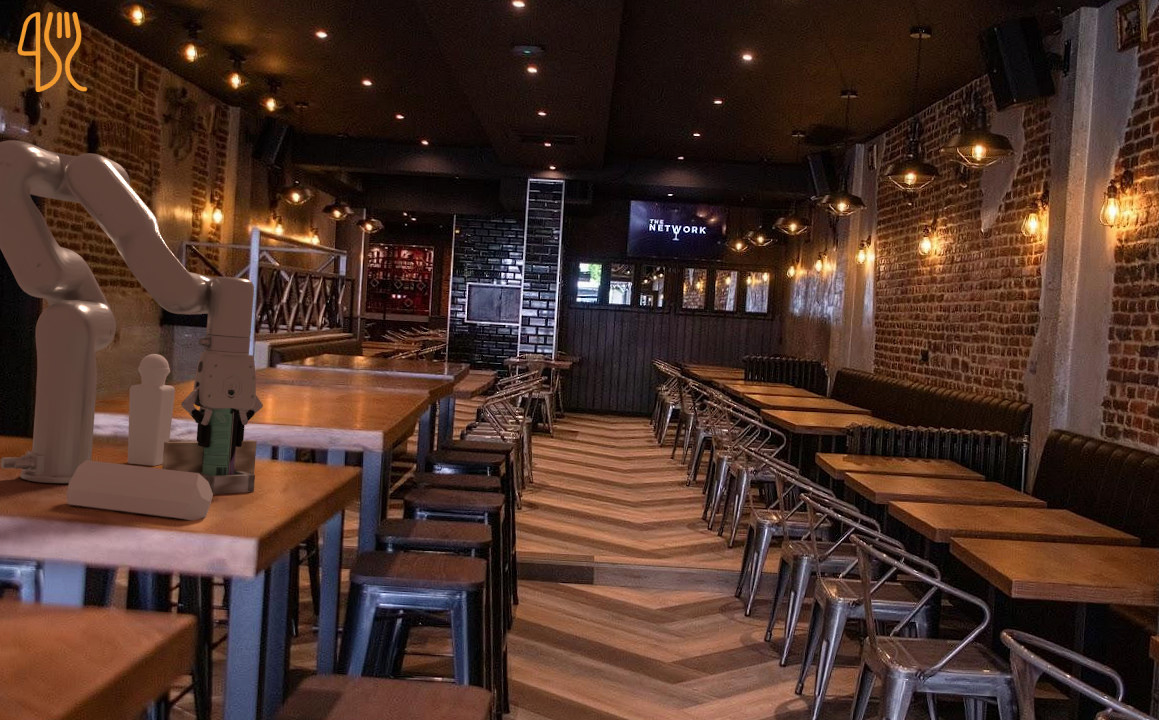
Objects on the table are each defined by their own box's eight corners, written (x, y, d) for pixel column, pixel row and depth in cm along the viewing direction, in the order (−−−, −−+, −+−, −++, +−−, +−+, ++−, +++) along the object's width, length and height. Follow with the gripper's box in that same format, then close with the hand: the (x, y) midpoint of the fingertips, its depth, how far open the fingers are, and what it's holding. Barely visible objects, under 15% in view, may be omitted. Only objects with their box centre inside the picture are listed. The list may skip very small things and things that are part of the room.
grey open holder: (184, 495, 178) (187, 449, 178) (160, 486, 185) (164, 442, 185) (274, 490, 190) (277, 447, 190) (249, 482, 197) (252, 440, 197)
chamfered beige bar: (48, 483, 160) (190, 500, 156) (76, 455, 166) (214, 471, 162) (61, 520, 164) (200, 538, 160) (88, 492, 170) (223, 509, 166)
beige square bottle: (139, 459, 212) (147, 352, 212) (170, 462, 212) (178, 355, 211) (123, 463, 206) (131, 352, 205) (155, 466, 205) (163, 355, 205)
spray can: (239, 481, 189) (248, 372, 188) (217, 484, 184) (226, 372, 183) (216, 477, 191) (225, 369, 191) (194, 480, 186) (203, 369, 186)
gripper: (191, 345, 178) (182, 450, 179) (281, 349, 190) (273, 448, 191) (171, 342, 183) (163, 444, 184) (261, 346, 196) (253, 442, 196)
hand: (219, 445), depth 188 cm, fingers closed on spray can, 5 cm apart
